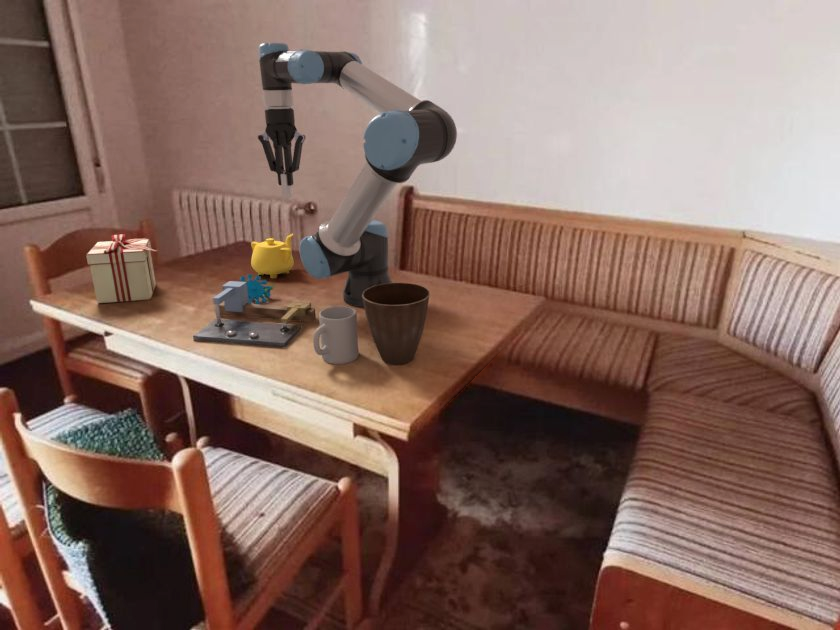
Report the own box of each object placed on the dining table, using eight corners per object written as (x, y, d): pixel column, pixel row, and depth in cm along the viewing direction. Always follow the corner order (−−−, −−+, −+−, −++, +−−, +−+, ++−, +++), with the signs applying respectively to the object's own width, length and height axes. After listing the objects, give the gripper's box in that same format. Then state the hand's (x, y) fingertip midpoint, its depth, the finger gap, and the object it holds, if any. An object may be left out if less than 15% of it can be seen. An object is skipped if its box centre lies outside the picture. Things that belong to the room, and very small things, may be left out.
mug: (339, 345, 141) (336, 303, 137) (366, 354, 137) (364, 310, 133) (303, 363, 132) (299, 319, 128) (330, 373, 128) (327, 327, 124)
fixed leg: (311, 310, 158) (310, 302, 157) (293, 329, 146) (292, 320, 145) (294, 309, 159) (293, 300, 158) (274, 328, 147) (273, 318, 146)
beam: (315, 318, 157) (315, 308, 156) (312, 322, 155) (311, 311, 154) (220, 311, 162) (218, 301, 161) (215, 315, 160) (214, 304, 159)
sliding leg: (250, 306, 161) (246, 281, 158) (227, 324, 149) (223, 297, 146) (233, 305, 162) (229, 280, 159) (209, 323, 150) (205, 296, 147)
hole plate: (301, 329, 150) (301, 322, 149) (284, 347, 140) (283, 340, 139) (216, 323, 154) (215, 316, 154) (193, 340, 144) (192, 332, 144)
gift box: (166, 297, 173) (155, 241, 166) (96, 306, 167) (83, 248, 160) (166, 280, 187) (157, 228, 181) (102, 288, 181) (90, 233, 175)
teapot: (298, 278, 189) (295, 242, 185) (252, 281, 186) (248, 245, 182) (296, 265, 202) (293, 232, 197) (253, 268, 199) (249, 234, 194)
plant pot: (351, 362, 133) (348, 296, 127) (390, 339, 144) (388, 278, 138) (405, 379, 125) (403, 310, 119) (441, 353, 137) (442, 289, 131)
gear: (240, 304, 163) (233, 273, 166) (236, 314, 167) (228, 283, 170) (278, 301, 169) (270, 271, 172) (273, 311, 173) (265, 281, 177)
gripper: (307, 107, 156) (314, 195, 165) (262, 106, 158) (271, 194, 167) (296, 108, 149) (304, 200, 158) (249, 108, 151) (259, 199, 160)
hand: (287, 197), depth 162 cm, fingers closed
